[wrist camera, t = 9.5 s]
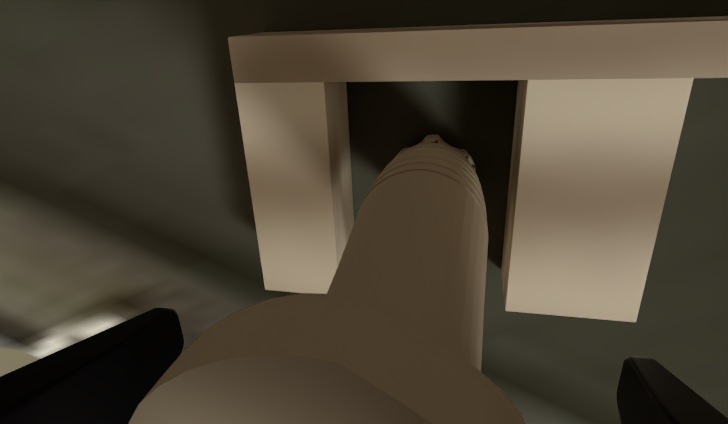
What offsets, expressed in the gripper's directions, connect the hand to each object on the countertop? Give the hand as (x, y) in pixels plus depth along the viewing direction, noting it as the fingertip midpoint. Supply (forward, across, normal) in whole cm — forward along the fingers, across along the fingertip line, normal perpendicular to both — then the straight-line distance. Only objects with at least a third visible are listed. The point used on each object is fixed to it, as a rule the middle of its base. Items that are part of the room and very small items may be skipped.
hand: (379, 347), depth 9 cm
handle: (+11, 0, 0) cm, 11 cm away
